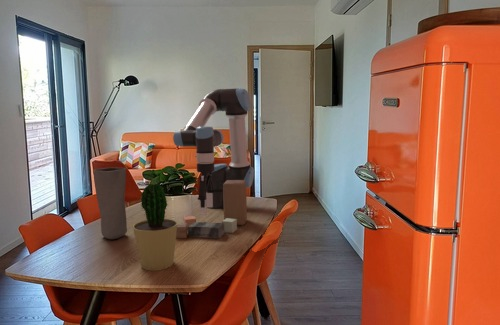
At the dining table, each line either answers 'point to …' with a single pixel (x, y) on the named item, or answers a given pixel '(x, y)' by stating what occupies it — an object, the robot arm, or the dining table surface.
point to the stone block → (206, 230)
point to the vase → (111, 201)
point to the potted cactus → (155, 231)
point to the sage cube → (230, 225)
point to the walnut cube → (181, 231)
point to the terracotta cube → (189, 220)
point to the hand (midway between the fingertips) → (206, 210)
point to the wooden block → (235, 200)
